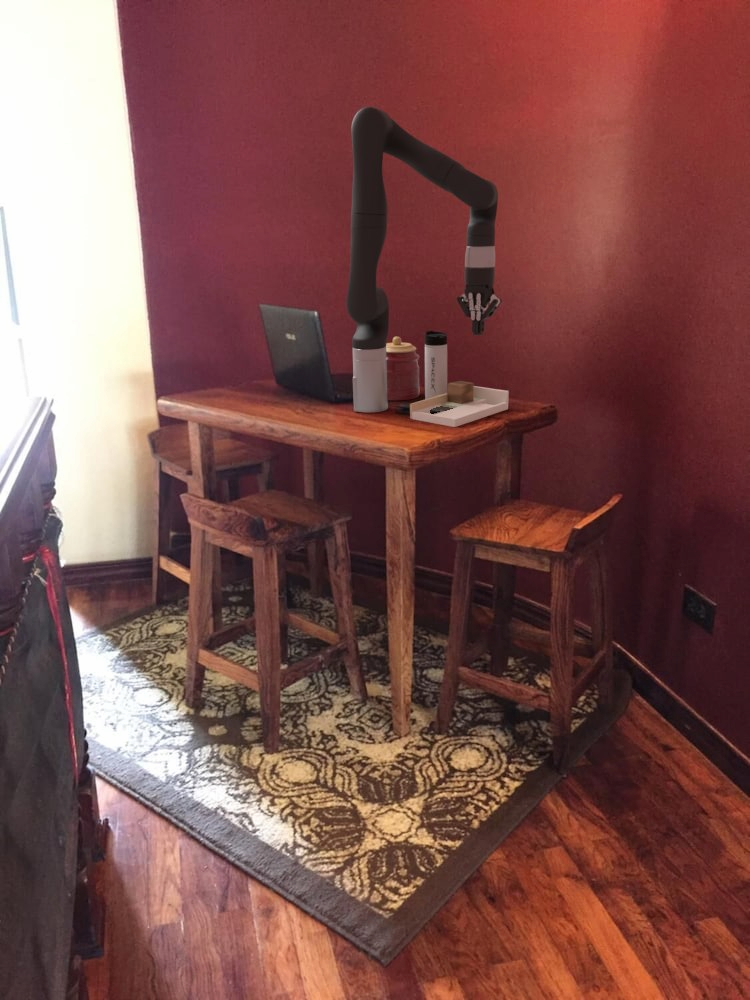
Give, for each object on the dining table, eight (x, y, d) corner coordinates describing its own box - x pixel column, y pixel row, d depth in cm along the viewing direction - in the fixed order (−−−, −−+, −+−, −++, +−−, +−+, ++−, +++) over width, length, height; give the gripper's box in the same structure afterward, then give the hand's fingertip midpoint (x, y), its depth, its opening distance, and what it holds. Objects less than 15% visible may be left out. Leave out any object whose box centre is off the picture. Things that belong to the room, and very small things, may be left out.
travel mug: (437, 399, 226) (437, 329, 219) (451, 403, 221) (451, 331, 214) (420, 402, 223) (419, 331, 216) (433, 406, 218) (433, 334, 211)
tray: (454, 427, 196) (454, 407, 194) (410, 418, 205) (409, 400, 203) (508, 409, 212) (508, 391, 210) (464, 402, 221) (464, 384, 220)
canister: (378, 392, 238) (376, 333, 232) (420, 391, 236) (420, 333, 230) (374, 401, 226) (372, 340, 220) (418, 401, 224) (418, 339, 218)
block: (460, 404, 210) (460, 385, 209) (447, 401, 214) (447, 383, 212) (473, 401, 213) (473, 383, 212) (460, 398, 217) (460, 380, 215)
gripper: (510, 265, 194) (507, 335, 200) (467, 263, 202) (465, 330, 208) (493, 266, 188) (490, 338, 194) (449, 265, 197) (448, 334, 203)
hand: (477, 334), depth 201 cm, fingers closed
